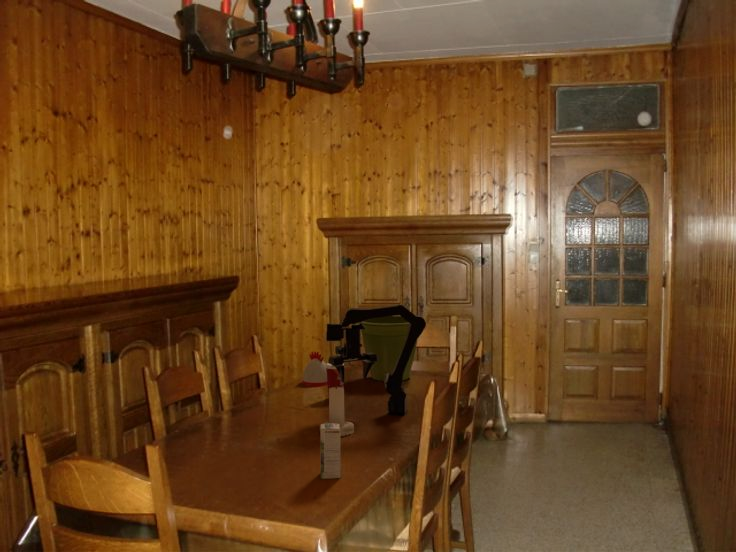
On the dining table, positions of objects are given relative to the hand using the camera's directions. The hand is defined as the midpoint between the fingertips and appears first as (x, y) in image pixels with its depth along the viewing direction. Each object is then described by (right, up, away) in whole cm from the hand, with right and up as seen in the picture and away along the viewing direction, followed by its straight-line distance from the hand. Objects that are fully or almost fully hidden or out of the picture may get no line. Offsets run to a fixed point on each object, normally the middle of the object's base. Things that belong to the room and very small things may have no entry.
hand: (353, 380), depth 263 cm
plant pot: (+17, -9, +67) cm, 69 cm away
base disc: (-5, -14, -23) cm, 27 cm away
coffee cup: (-8, -12, +27) cm, 30 cm away
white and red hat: (-19, -10, +59) cm, 62 cm away
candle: (-5, -12, -23) cm, 26 cm away
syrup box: (-5, -17, -67) cm, 69 cm away
